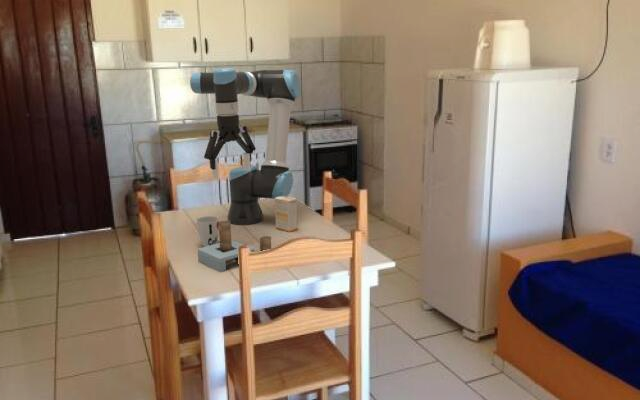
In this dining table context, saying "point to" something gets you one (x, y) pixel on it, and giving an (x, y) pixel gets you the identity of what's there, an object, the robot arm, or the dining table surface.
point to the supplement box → (286, 213)
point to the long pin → (225, 237)
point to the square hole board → (218, 255)
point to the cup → (208, 230)
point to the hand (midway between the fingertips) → (232, 174)
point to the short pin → (265, 243)
